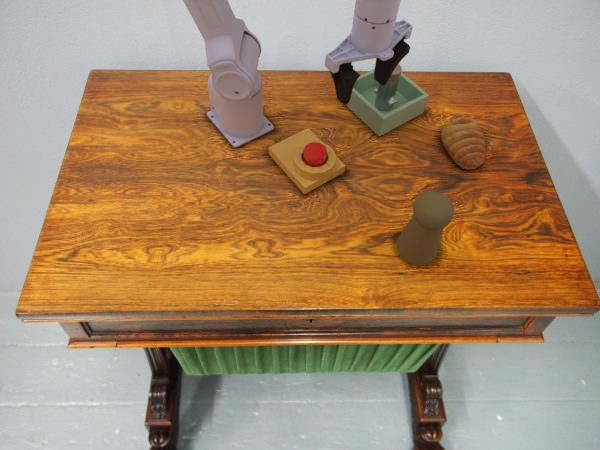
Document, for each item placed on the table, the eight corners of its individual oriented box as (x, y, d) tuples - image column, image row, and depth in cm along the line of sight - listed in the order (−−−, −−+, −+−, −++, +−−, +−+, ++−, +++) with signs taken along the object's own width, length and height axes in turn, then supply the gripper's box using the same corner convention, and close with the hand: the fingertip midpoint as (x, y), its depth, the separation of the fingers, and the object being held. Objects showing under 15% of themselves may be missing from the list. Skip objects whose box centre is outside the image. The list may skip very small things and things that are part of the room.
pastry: (491, 170, 81) (499, 154, 78) (451, 173, 80) (458, 158, 77) (473, 129, 86) (480, 112, 83) (435, 131, 85) (441, 115, 82)
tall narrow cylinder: (368, 101, 88) (375, 64, 82) (382, 94, 89) (390, 57, 83) (384, 115, 86) (393, 79, 80) (398, 108, 87) (408, 71, 81)
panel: (268, 154, 81) (268, 139, 78) (307, 134, 84) (308, 119, 81) (305, 195, 77) (306, 181, 74) (345, 173, 80) (348, 158, 77)
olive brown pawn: (436, 268, 70) (460, 226, 61) (394, 260, 71) (411, 217, 62) (438, 233, 74) (461, 188, 65) (398, 226, 74) (415, 180, 65)
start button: (298, 155, 77) (298, 148, 76) (316, 146, 78) (317, 138, 77) (312, 170, 76) (312, 163, 74) (330, 160, 77) (331, 152, 75)
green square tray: (341, 101, 89) (343, 83, 85) (385, 79, 92) (389, 61, 89) (379, 136, 84) (383, 119, 81) (423, 112, 88) (429, 94, 84)
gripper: (353, 46, 61) (341, 125, 73) (436, 8, 67) (413, 87, 78) (318, 17, 64) (312, 97, 76) (400, -17, 70) (383, 63, 81)
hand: (361, 91), depth 77 cm, fingers open, 7 cm apart
